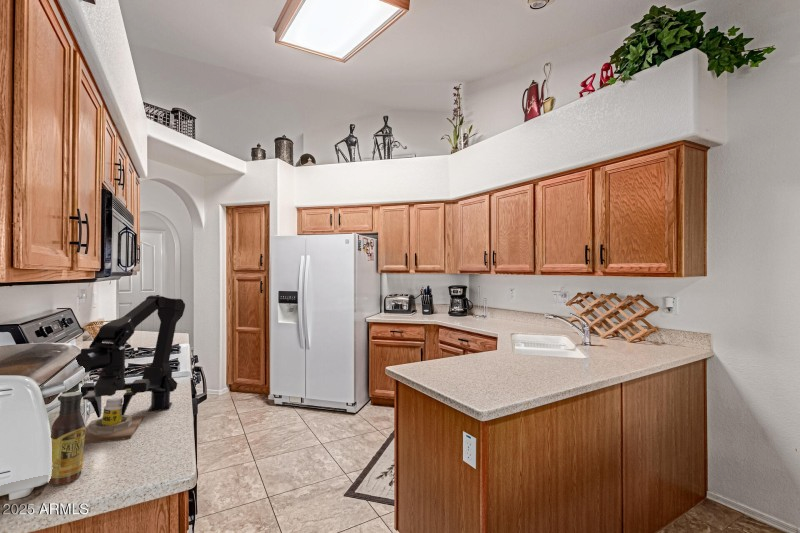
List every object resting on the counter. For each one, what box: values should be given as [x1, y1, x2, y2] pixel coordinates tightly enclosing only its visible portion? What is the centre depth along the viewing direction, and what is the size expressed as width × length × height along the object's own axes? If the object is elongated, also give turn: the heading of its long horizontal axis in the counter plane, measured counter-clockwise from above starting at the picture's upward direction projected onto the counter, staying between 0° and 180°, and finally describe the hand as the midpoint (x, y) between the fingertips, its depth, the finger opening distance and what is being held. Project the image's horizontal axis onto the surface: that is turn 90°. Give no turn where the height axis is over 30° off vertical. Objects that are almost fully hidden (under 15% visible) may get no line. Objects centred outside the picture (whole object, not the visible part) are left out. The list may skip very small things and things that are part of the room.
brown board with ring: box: [84, 414, 145, 445], centre depth 116 cm, size 16×14×3 cm
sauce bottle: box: [47, 391, 86, 486], centre depth 89 cm, size 7×6×20 cm
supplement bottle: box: [101, 396, 124, 426], centre depth 117 cm, size 5×5×8 cm
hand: (111, 416), depth 116 cm, fingers open, 6 cm apart
